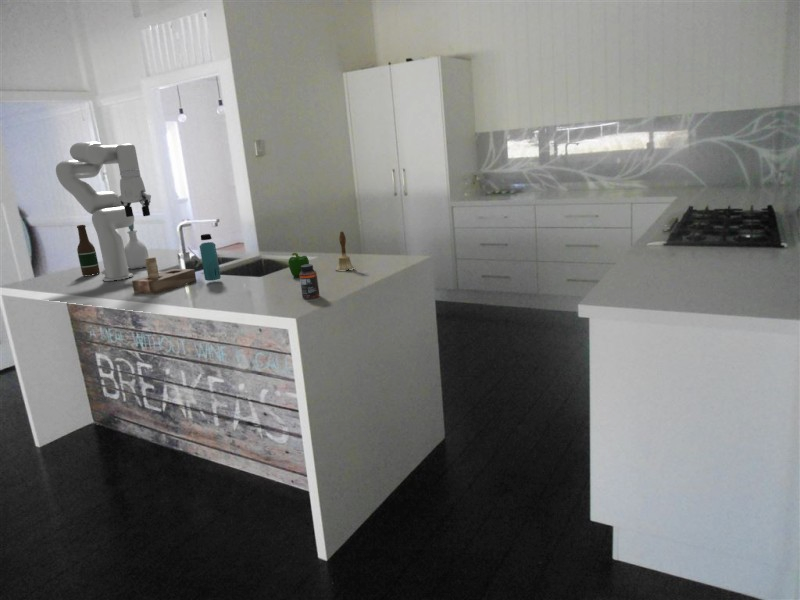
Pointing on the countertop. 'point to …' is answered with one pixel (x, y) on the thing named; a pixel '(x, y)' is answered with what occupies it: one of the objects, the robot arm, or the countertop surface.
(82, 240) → the beer bottle
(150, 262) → the pin
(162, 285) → the bore block
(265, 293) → the countertop surface
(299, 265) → the bell pepper
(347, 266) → the hand bell
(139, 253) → the soap bottle
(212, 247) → the beverage bottle
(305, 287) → the supplement bottle
